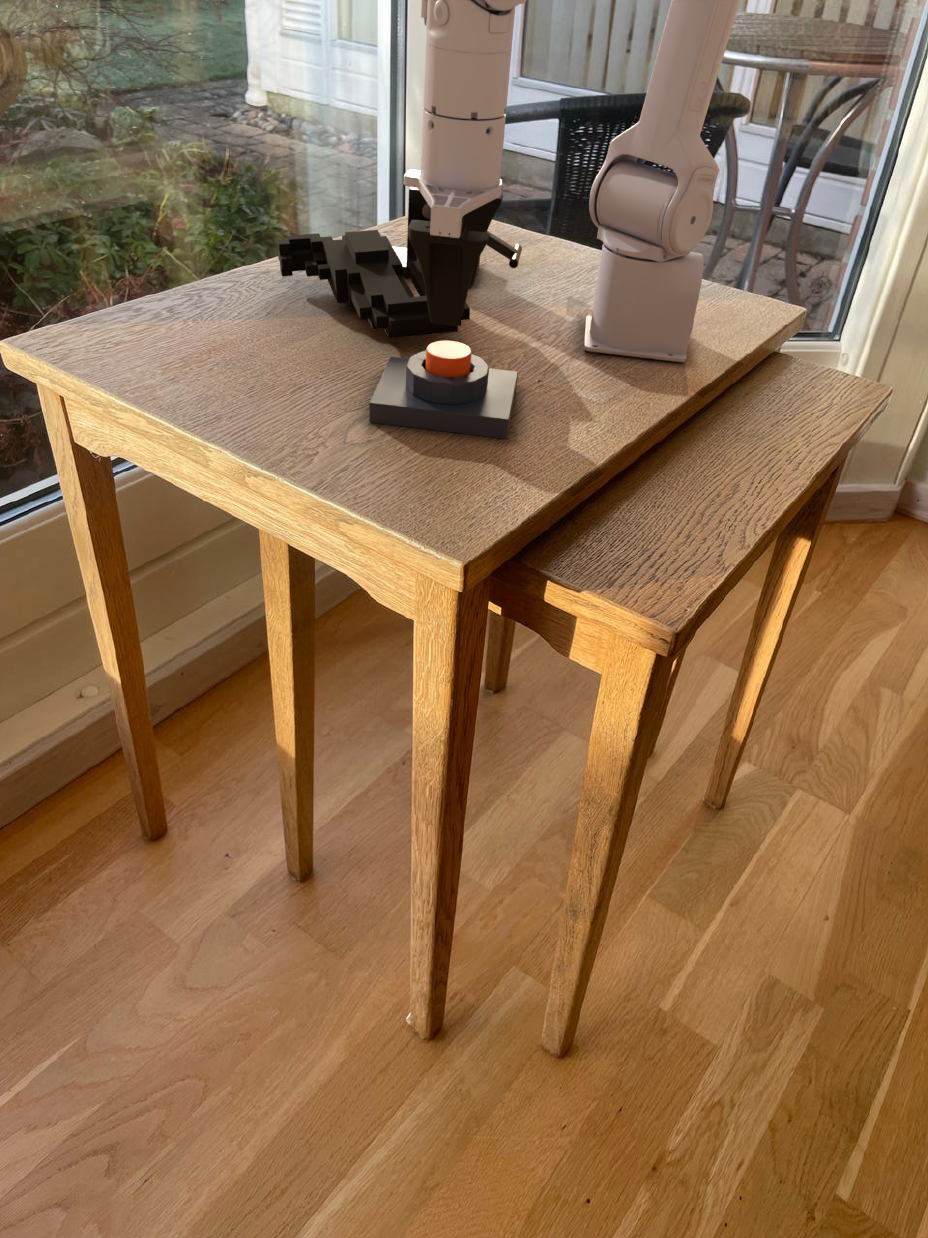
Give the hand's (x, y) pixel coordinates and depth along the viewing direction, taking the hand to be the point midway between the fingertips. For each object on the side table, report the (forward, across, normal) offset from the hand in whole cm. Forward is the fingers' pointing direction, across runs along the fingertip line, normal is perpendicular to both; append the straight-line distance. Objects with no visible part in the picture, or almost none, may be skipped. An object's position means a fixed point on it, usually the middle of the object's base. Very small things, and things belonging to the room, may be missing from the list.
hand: (452, 304), depth 76 cm
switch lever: (+4, -31, -2) cm, 31 cm away
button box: (+8, 0, 0) cm, 8 cm away
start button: (+5, 0, 0) cm, 5 cm away
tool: (+8, -18, -10) cm, 22 cm away
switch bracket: (+8, -31, -6) cm, 32 cm away
